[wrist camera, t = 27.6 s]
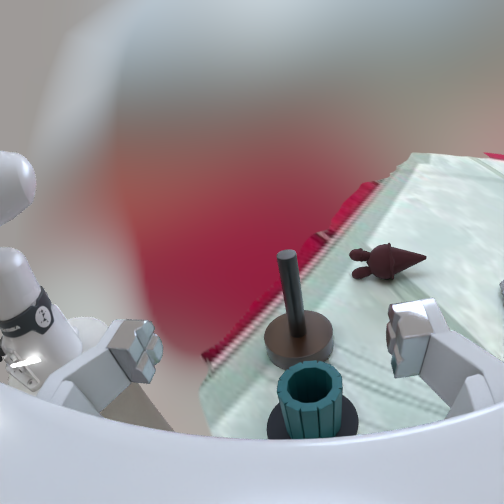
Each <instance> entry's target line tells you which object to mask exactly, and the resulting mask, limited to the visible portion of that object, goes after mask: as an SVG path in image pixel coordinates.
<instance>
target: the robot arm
mask: <svg viewBox="0 0 504 504" xmlns="http://www.w3.org/2000/svg"><path fill="white" fill-rule="evenodd" d="M35 192H36V177H35V172H34V170H33V167H32V166H31V164H30V162H29V161H28V160H27V159H26V158H25V157H23V156H22V155H20V154H18V153H13V152H4V151H0V226H2V225H3V224H5V223H7V222H9V221H11V220H12V219H14V218H15V217H16V216H17V215H19V214H20V213H21V212H22V211H23V210H25V209H26V208H27V207H28V206H30V205H31V204H32V202H33V200H34V196H35ZM388 316H389V319H390V322H389V323H388V324H387V328H386V341H387V348H388V352H389V353H390V354H391V355H392V360H391V365H392V369H393V373H394V378H402V377H409V376H416V375H419V376H420V377H421V378H422V379H423V380H424V381H425V382H426V383H427V384H428V385H429V386H430V387H431V388H432V389H433V390H434V391H435V392H436V393H437V394H438V395H439V396H440V397H441V399H442V400H443V401H444V402H445V403H446V404H447V405H448V406H449V407H450V408H451V409H450V411H449V412H448V414H447V416H446V417H445V419H444V420H440V421H436V422H431V423H427V424H422V425H418V426H413V427H408V428H402V429H397V430H391V431H384V432H378V433H370V434H362V435H354V436H344V437H332V438H316V439H284V440H272V439H240V438H224V437H212V436H202V435H193V434H184V433H177V432H171V431H164V430H158V429H152V428H147V427H142V426H137V425H132V424H127V423H122V422H118V421H114V420H110V419H106V418H104V417H103V416H102V415H101V414H100V412H101V411H102V410H103V409H104V408H105V407H106V406H107V405H108V404H109V403H110V402H112V401H113V400H114V399H115V398H116V397H117V396H118V395H119V394H120V393H121V392H122V391H123V390H125V389H126V388H127V387H128V386H129V385H130V384H131V382H135V383H146V384H150V382H151V380H152V378H153V376H154V374H155V371H156V369H155V365H156V364H157V363H159V362H160V360H161V358H162V356H163V345H162V341H161V339H160V337H159V336H157V335H156V334H155V333H154V330H155V327H154V326H153V324H152V322H151V321H149V320H129V319H126V320H123V319H116V320H114V321H113V322H112V323H111V325H110V326H109V327H108V329H107V330H106V332H105V333H104V335H103V336H102V338H101V339H100V341H99V342H98V344H97V345H96V347H92V348H90V349H89V350H87V351H86V352H84V353H83V354H81V353H82V342H81V340H80V338H79V337H78V334H79V330H78V329H77V327H76V326H71V325H70V323H69V322H68V321H67V319H66V318H65V316H64V315H63V314H62V312H61V311H60V309H59V308H58V307H57V306H56V305H54V304H51V301H50V299H49V298H48V294H47V293H46V292H45V290H44V289H43V287H42V286H40V285H39V283H38V282H37V280H36V278H35V276H34V274H33V272H32V270H31V268H30V266H29V264H28V262H27V259H26V257H25V256H24V255H23V253H21V252H20V251H19V250H17V249H15V248H11V247H0V329H1V331H2V333H3V336H2V338H1V339H0V362H1V361H2V356H4V358H3V359H4V360H5V362H6V363H7V364H6V370H7V371H8V373H9V374H10V375H12V376H13V377H14V378H15V379H16V380H18V381H19V382H20V383H21V384H23V385H24V386H25V387H26V388H28V389H29V390H30V391H32V392H35V391H37V390H39V389H40V388H41V389H40V390H39V392H38V393H37V395H36V397H35V396H33V395H30V394H28V393H25V392H23V391H20V390H18V389H15V388H13V387H11V386H8V385H6V384H4V383H2V382H0V504H504V362H503V361H501V360H500V359H498V358H496V357H495V356H493V355H492V354H490V353H489V352H487V351H486V350H484V349H483V348H481V347H480V346H478V345H477V344H475V343H474V342H472V341H471V340H469V339H467V338H466V337H464V336H463V335H461V334H460V333H458V332H456V331H455V330H454V331H450V328H449V326H448V324H447V322H446V320H445V318H444V316H443V314H442V312H441V310H440V308H439V306H438V304H437V302H436V300H435V299H434V298H433V297H432V298H426V299H421V300H416V301H410V302H403V303H396V304H390V305H389V309H388Z"/></svg>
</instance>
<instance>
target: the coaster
mask: <svg viewBox="0 0 504 504" xmlns="http://www.w3.org/2000/svg"><path fill="white" fill-rule="evenodd" d="M357 430H358V415H357V412H356V409H355V407H354V406H353V404H352V403H351V402H350V401H349V400H348V399H347V398H346V397H345V396H343V395H342V413H341V427H340V430H339V431H338V433H337V434H336V436H335V437H344V436H354V435H356V434H357ZM267 435H268V439H272V440H284V439H291V437H290V436H289V434H288V432H287V429H286V426H285V422H284V418H283V414H282V410H281V406H280V402H279V403H278V404H277V405H276V406H275V408H274V409H273V411H272V412H271V414H270V416H269V419H268V423H267Z"/></svg>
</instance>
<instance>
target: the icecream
mask: <svg viewBox="0 0 504 504" xmlns="http://www.w3.org/2000/svg"><path fill="white" fill-rule="evenodd" d="M349 256H350V258H351V259H352V260H354V261H361V262H363V261H367V264H368V266H369V267H367V266H365V267H359V268H357V269H355V270H354V271H353V272H352V277H353V278H355V279H362V278H365V277H367V276H369V275H371V274H374V275H375V276H376V277H378V278H381V279H389V278H392V279H394V275H395V274H397V273H399V272H401V271H403V270H405V269H407V268H409V267H411V266H413V265H415V264H417V263H419V262H421V261H423V260H425V259H426V256H425V255H421V254H417V253H414V252H410V251H406V250H402V249H398V248H394V247H391V244H390V243H388V245H387V244H383V245H379V246H377V247H376V248H374V249H373V250H372V252H371V253H370V252H367V251H363V250H362V249H361V248H360V249H354V250H352V251H351V252H350V254H349Z"/></svg>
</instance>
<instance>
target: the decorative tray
mask: <svg viewBox="0 0 504 504" xmlns="http://www.w3.org/2000/svg"><path fill="white" fill-rule="evenodd" d="M499 285H500V288H501V290H502V293H503V295H504V280H503V281H502V282H501V283H500V284H499Z"/></svg>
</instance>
